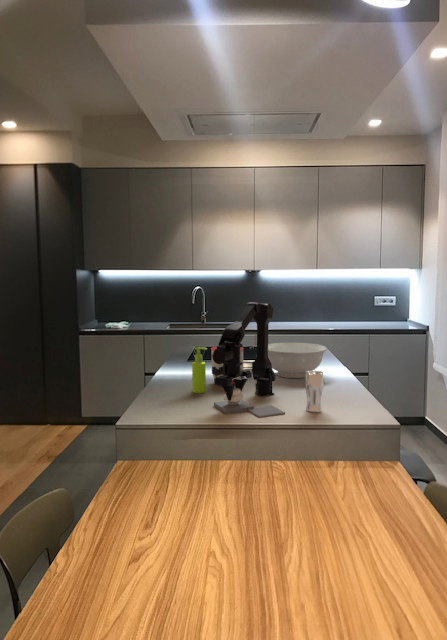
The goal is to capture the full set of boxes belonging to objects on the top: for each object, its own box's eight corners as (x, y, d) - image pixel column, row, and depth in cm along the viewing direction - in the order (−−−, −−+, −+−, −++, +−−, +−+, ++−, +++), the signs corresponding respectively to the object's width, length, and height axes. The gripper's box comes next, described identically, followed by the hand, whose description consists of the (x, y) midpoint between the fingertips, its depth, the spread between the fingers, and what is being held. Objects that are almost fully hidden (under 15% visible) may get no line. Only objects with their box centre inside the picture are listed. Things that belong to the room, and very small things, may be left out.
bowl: (307, 366, 279) (307, 340, 278) (337, 379, 249) (338, 349, 247) (252, 371, 270) (252, 343, 268) (277, 384, 239) (277, 354, 237)
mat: (271, 406, 203) (271, 405, 203) (285, 413, 193) (285, 412, 193) (246, 409, 199) (246, 408, 199) (259, 417, 189) (259, 416, 189)
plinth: (241, 402, 209) (240, 389, 209) (253, 410, 198) (253, 396, 198) (213, 405, 205) (213, 392, 204) (225, 413, 194) (225, 399, 193)
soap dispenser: (206, 393, 224) (205, 348, 222) (191, 392, 226) (190, 348, 224) (209, 390, 230) (208, 346, 228) (194, 389, 231) (193, 346, 229)
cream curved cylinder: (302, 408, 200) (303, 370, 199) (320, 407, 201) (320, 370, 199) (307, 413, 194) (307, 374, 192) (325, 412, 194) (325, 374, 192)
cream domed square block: (231, 396, 205) (231, 386, 205) (243, 398, 202) (243, 388, 202) (223, 399, 200) (223, 389, 200) (235, 401, 197) (235, 391, 197)
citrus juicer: (250, 380, 249) (250, 339, 246) (236, 388, 233) (235, 345, 231) (221, 377, 255) (220, 338, 253) (205, 385, 239) (205, 343, 237)
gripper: (229, 354, 212) (229, 390, 213) (202, 361, 196) (203, 401, 198) (252, 356, 205) (252, 394, 207) (226, 364, 190) (226, 405, 192)
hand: (233, 398), depth 201 cm, fingers closed on cream domed square block, 6 cm apart
